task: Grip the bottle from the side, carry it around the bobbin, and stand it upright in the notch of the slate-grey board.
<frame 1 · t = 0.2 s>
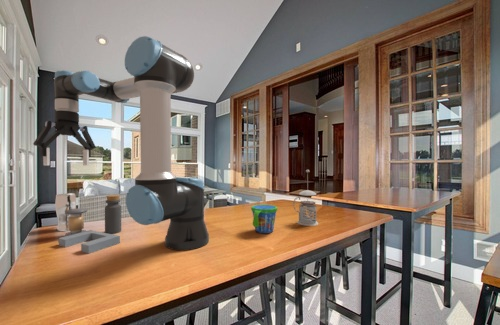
hand: (67, 165, 92), 27 cm above the table, tool pointing down, fingers open, 13 cm apart
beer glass: (66, 229, 100), on the table
bottle: (113, 232, 96), on the table
snack cup: (264, 231, 96), on the table
notch board: (85, 245, 80), on the table
french press: (305, 223, 109), on the table
bobbin: (76, 235, 91), on the table
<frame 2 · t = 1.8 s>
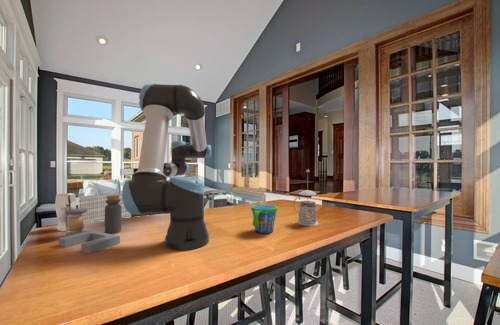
hand: (131, 172, 103), 24 cm above the table, tool horizontal, fingers open, 13 cm apart
nothing on the table moved.
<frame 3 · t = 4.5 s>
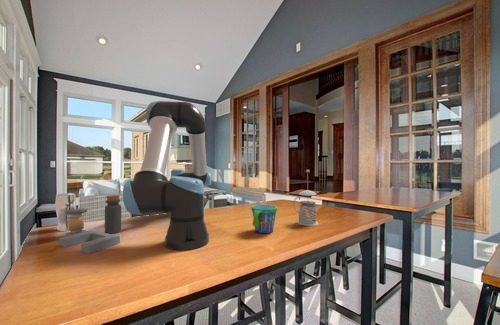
hand: (127, 207, 102), 9 cm above the table, tool horizontal, fingers open, 13 cm apart
nothing on the table moved.
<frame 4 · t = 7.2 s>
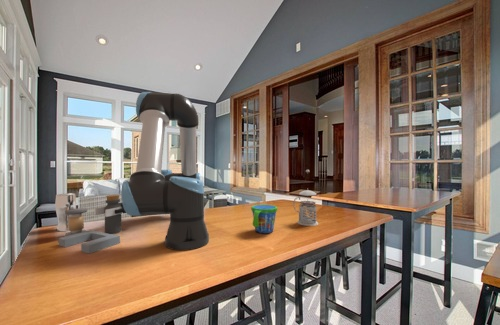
hand: (100, 212, 91), 9 cm above the table, tool horizontal, fingers closed on bottle, 6 cm apart
bottle: (113, 232, 96), on the table, touching gripper
everything else where it was.
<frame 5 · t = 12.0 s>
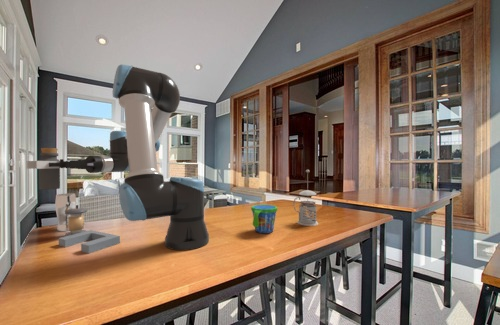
hand: (31, 164, 81), 28 cm above the table, tool horizontal, fingers closed on bottle, 6 cm apart
bottle: (49, 189, 86), point 19 cm above the table, touching gripper
everything else where it was.
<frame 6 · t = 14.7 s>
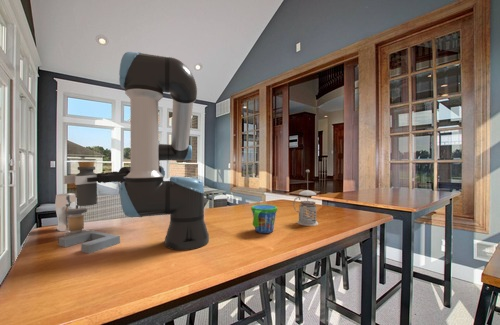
hand: (69, 180, 77), 23 cm above the table, tool horizontal, fingers closed on bottle, 6 cm apart
bottle: (87, 205, 82), point 14 cm above the table, touching gripper
everything else where it was.
when the fingers open (10 cm above the table, at t = 17.2 s): bottle drops 1 cm, on the table.
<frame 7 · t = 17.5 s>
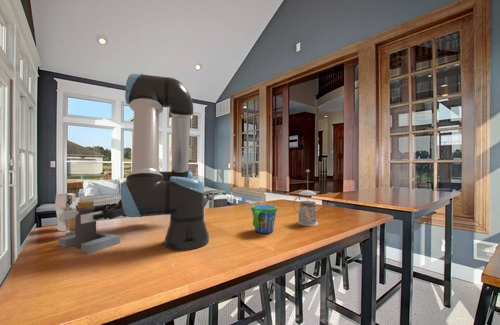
hand: (71, 217, 76), 10 cm above the table, tool horizontal, fingers open, 10 cm apart
bottle: (86, 245, 81), on the table
everything else where it was.
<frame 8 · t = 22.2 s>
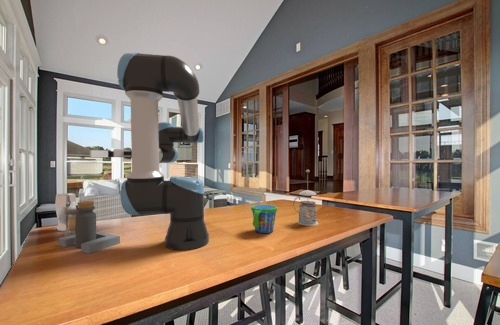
hand: (101, 153, 85), 32 cm above the table, tool horizontal, fingers open, 13 cm apart
nothing on the table moved.
at the end: bottle 0.1 cm off-centre on the notch board, point 0.0 cm above the notch board's base; bottle tilted 0°; the gripper is holding nothing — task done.
